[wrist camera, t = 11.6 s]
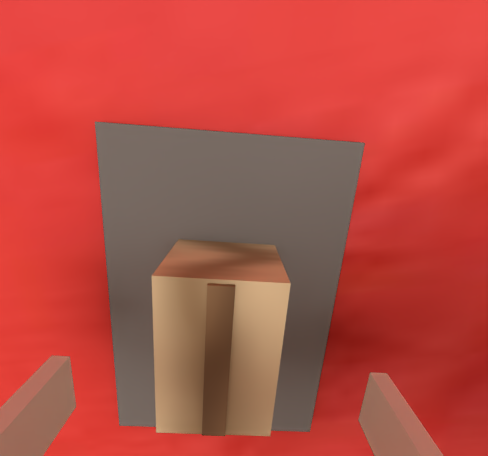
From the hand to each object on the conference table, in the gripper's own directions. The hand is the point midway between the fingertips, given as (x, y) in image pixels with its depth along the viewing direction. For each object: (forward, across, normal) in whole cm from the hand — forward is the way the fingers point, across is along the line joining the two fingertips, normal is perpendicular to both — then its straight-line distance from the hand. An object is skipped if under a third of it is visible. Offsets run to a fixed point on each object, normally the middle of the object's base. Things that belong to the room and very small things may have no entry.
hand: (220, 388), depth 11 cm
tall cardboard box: (+6, 0, 0) cm, 6 cm away
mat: (+7, 0, 0) cm, 7 cm away
